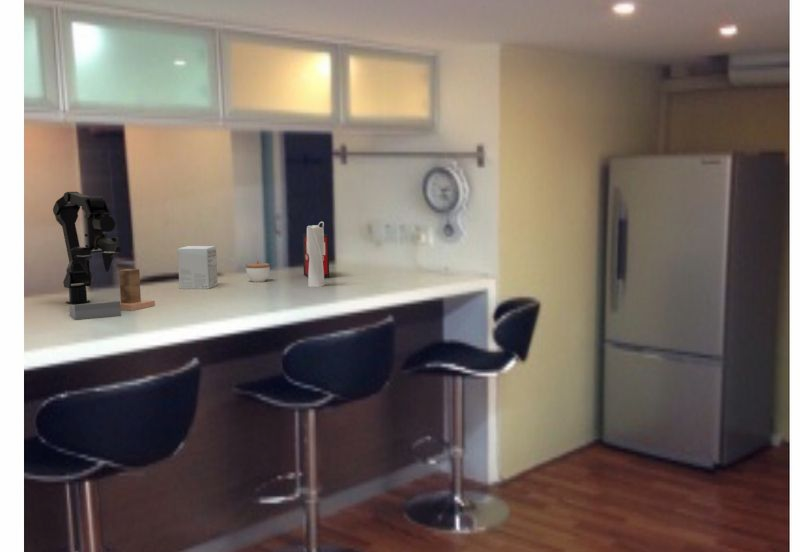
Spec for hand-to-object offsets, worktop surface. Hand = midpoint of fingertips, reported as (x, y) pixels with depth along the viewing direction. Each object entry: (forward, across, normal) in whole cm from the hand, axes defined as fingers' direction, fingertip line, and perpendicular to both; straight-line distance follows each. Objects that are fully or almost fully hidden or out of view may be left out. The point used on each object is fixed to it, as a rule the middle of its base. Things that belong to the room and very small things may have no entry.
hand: (97, 273), depth 306 cm
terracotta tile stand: (+13, +6, -10) cm, 17 cm away
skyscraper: (+13, +82, -43) cm, 93 cm away
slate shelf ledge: (+13, -12, -11) cm, 21 cm away
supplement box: (+13, +60, +4) cm, 61 cm away
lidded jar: (+13, +86, -9) cm, 87 cm away
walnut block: (+11, +6, -10) cm, 16 cm away
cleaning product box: (+13, +110, -24) cm, 114 cm away
